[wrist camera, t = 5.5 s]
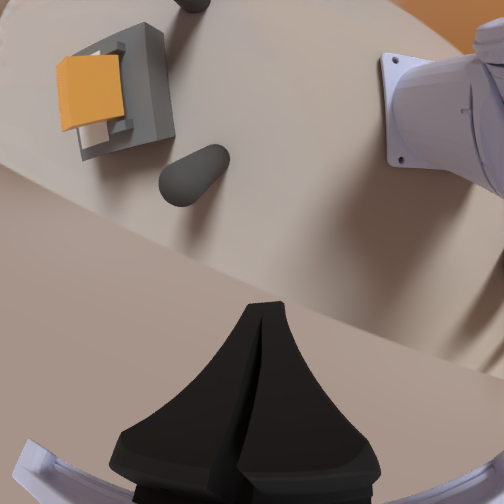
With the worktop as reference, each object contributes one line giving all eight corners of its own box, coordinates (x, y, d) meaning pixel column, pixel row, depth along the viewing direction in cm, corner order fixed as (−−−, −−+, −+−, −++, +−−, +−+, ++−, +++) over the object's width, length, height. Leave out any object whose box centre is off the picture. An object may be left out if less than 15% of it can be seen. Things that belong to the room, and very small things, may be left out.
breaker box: (163, 33, 13) (136, 17, 9) (175, 136, 17) (149, 142, 13) (94, 60, 14) (61, 55, 10) (105, 153, 17) (73, 164, 14)
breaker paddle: (118, 54, 11) (65, 57, 8) (124, 115, 13) (71, 126, 10) (106, 62, 11) (56, 66, 9) (112, 119, 13) (62, 131, 10)
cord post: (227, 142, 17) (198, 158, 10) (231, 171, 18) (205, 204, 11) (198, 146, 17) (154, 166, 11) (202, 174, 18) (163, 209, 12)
